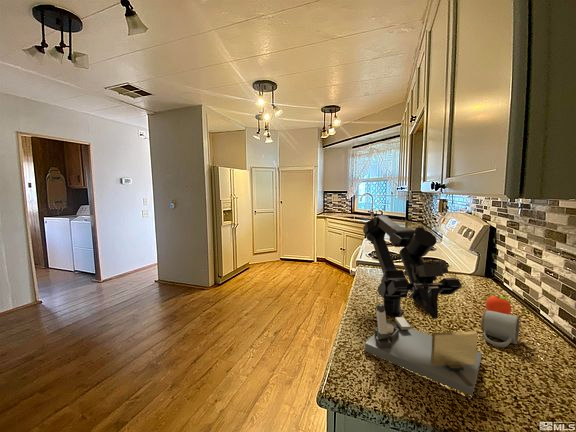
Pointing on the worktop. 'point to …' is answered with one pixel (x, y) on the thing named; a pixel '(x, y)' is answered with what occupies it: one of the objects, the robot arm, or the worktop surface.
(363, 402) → the worktop surface
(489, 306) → the red tomato
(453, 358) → the brass paddle
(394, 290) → the robot arm
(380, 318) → the steel lever
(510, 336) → the ceramic mug
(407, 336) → the panel
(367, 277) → the worktop surface
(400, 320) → the block
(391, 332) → the push button
